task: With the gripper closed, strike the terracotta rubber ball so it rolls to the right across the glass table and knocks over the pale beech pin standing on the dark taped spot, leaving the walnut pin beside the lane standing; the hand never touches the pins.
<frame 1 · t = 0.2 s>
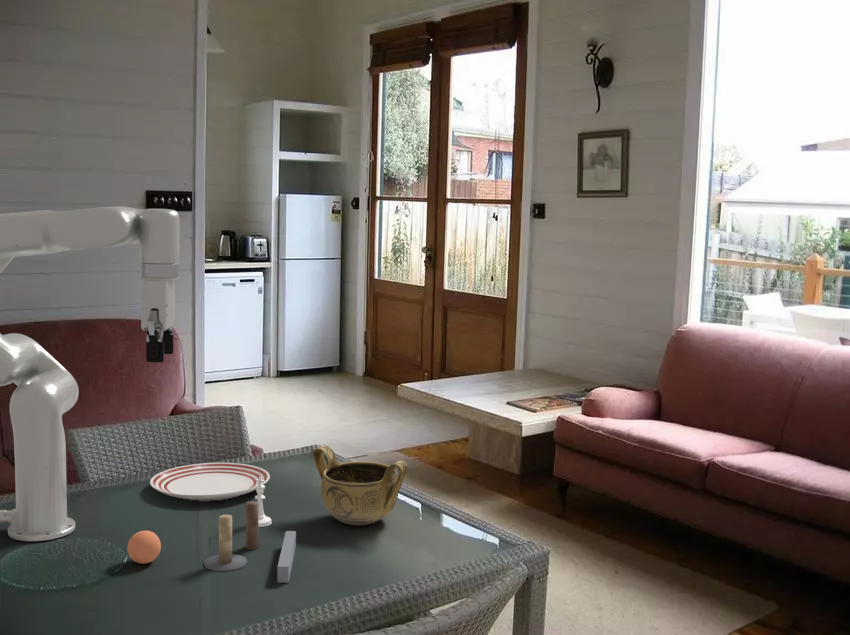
hand: (160, 357, 184), 36 cm above the table, tool pointing down, fingers open, 9 cm apart
dinner plate: (210, 490, 218), on the table
back wall: (286, 563, 175), on the table
ball: (144, 547, 173), on the table
ceramic bowl: (359, 521, 200), on the table
beech pin: (225, 562, 174), on the table
pin spot: (225, 562, 174), on the table
chess piece: (259, 523, 197), on the table
walnut pin: (251, 547, 183), on the table
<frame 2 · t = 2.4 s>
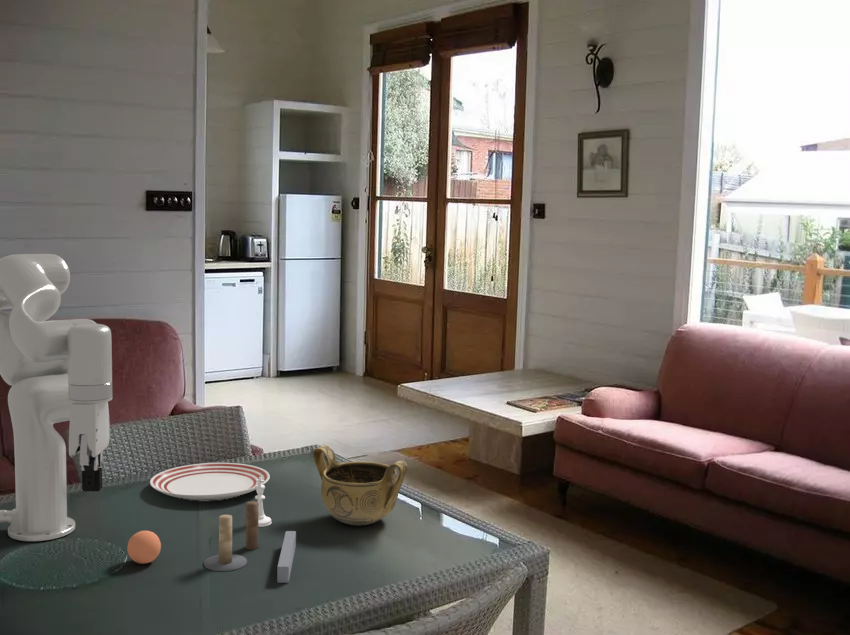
hand: (92, 489, 171), 14 cm above the table, tool pointing down, fingers closed
nothing on the table moved.
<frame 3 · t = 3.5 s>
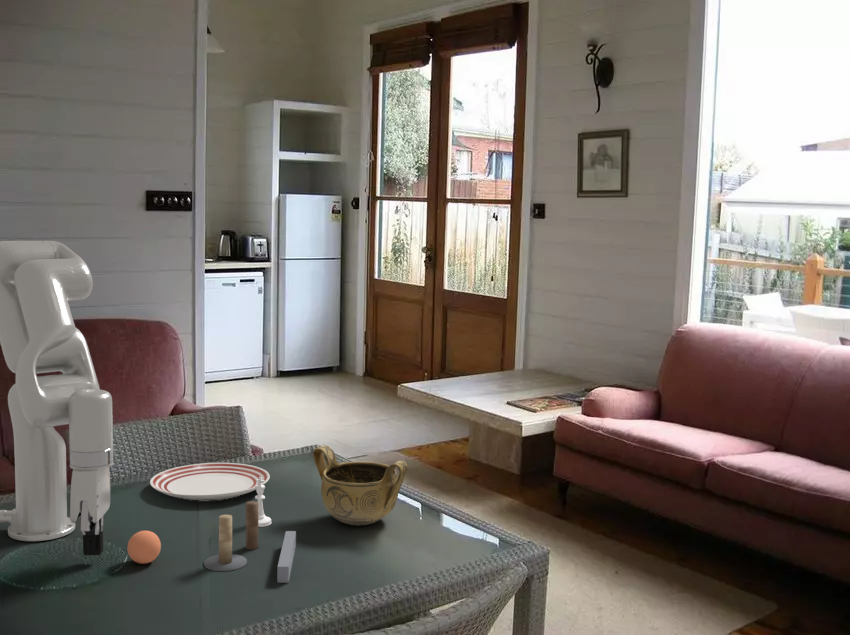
hand: (93, 553, 172), 2 cm above the table, tool pointing down, fingers closed
nothing on the table moved.
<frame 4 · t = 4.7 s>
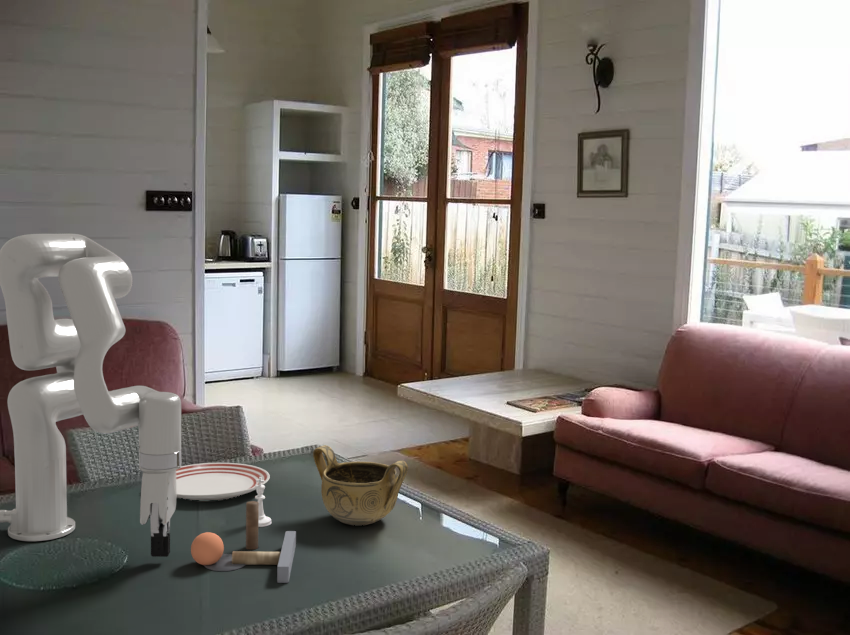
hand: (160, 554, 173), 2 cm above the table, tool pointing down, fingers closed
ball: (207, 548, 173), on the table
beech pin: (232, 557, 174), point 1 cm above the table, tilted 90°
everything else where it was.
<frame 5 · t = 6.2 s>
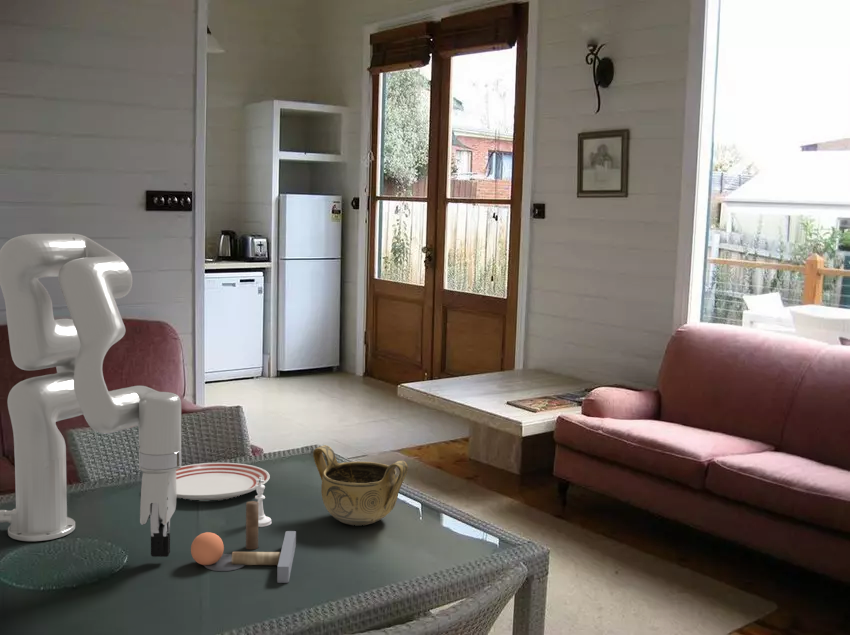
hand: (160, 554, 173), 2 cm above the table, tool pointing down, fingers closed
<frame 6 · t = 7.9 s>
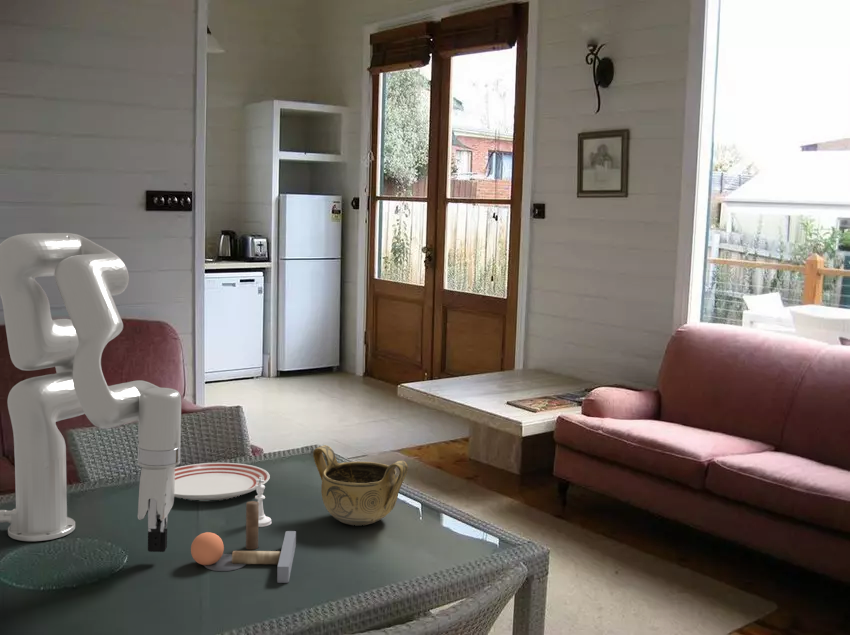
hand: (157, 549, 174), 2 cm above the table, tool pointing down, fingers closed
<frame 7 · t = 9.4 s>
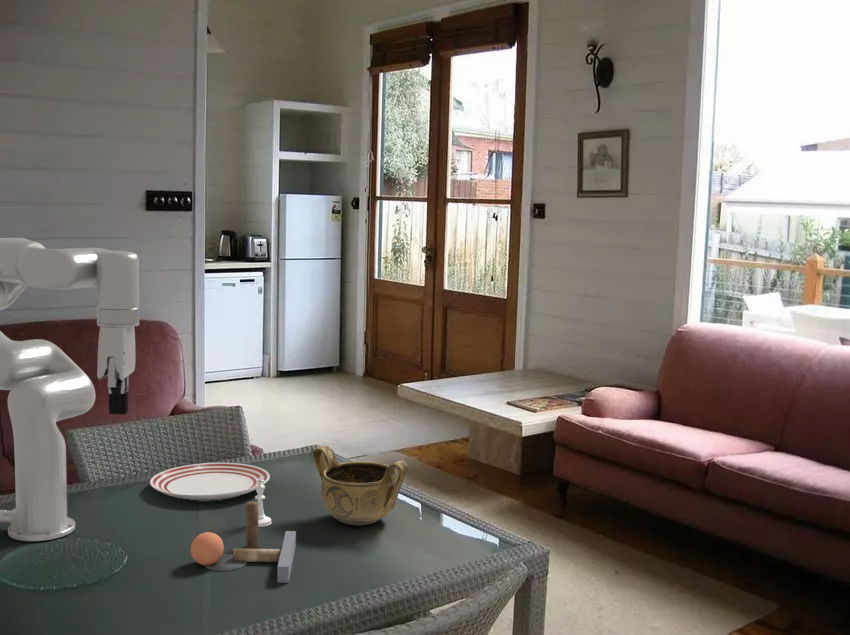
hand: (118, 413, 176), 27 cm above the table, tool pointing down, fingers closed
beech pin: (233, 555, 176), point 1 cm above the table, tilted 90°
everything else where it was.
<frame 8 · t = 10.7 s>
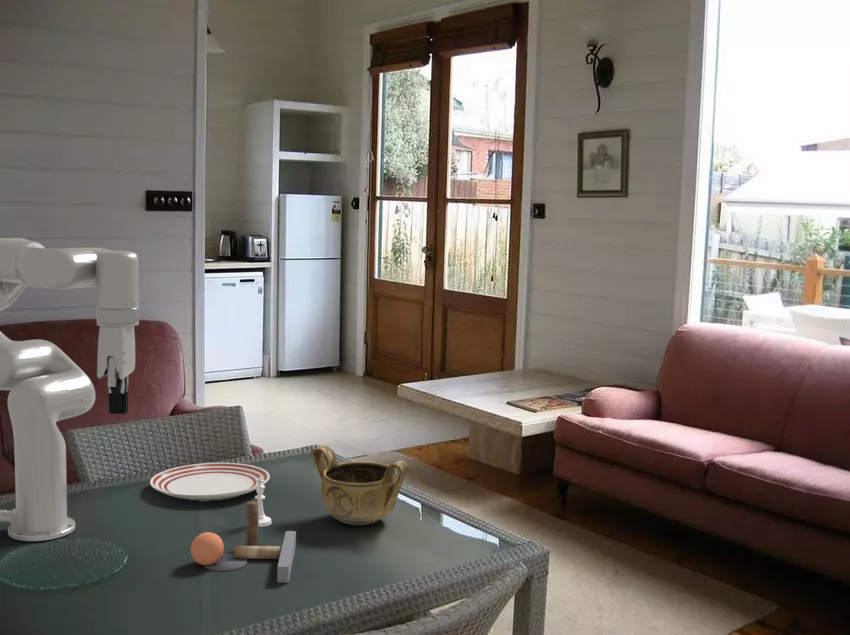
hand: (118, 412, 176), 27 cm above the table, tool pointing down, fingers closed
beech pin: (234, 552, 177), point 1 cm above the table, tilted 90°
everything else where it was.
at the end: beech pin tilted 90°; beech pin never touched the robot; ball moved 11.8 cm from its start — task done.
